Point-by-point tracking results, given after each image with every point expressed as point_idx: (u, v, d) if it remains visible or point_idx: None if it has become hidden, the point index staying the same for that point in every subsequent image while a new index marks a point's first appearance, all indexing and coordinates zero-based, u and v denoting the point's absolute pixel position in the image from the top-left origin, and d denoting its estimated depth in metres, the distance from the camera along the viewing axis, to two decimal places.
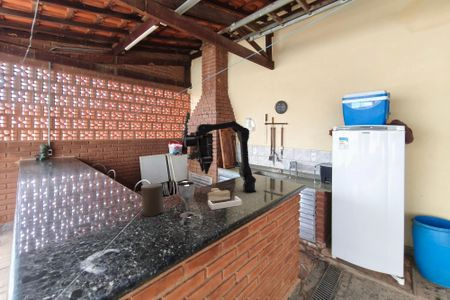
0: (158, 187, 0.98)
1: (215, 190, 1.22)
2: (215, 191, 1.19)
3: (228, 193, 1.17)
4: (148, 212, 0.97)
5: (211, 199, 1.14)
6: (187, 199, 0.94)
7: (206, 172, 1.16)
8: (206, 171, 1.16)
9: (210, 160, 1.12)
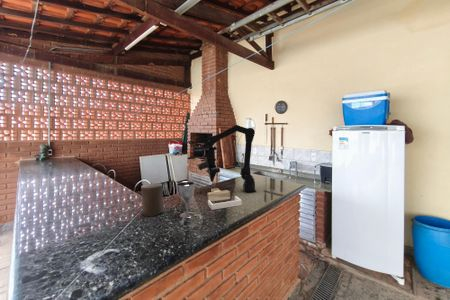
0: (158, 187, 0.98)
1: (215, 190, 1.22)
2: (215, 191, 1.19)
3: (228, 193, 1.17)
4: (148, 212, 0.97)
5: (211, 199, 1.14)
6: (187, 199, 0.94)
7: (212, 180, 1.31)
8: (211, 179, 1.30)
9: (217, 171, 1.22)
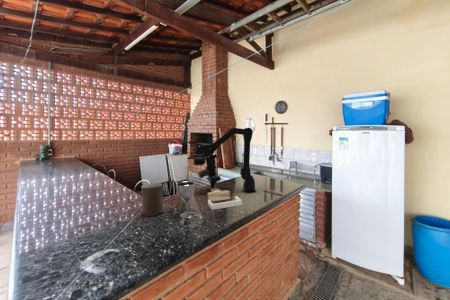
0: (158, 187, 0.98)
1: (215, 190, 1.22)
2: (215, 191, 1.19)
3: (228, 193, 1.17)
4: (148, 212, 0.97)
5: (211, 199, 1.14)
6: (187, 199, 0.94)
7: (212, 188, 1.30)
8: (212, 187, 1.30)
9: (218, 179, 1.22)
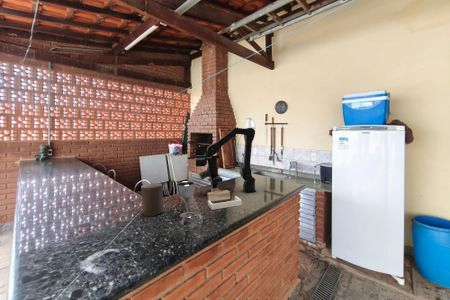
0: (158, 187, 0.98)
1: (215, 190, 1.22)
2: (215, 191, 1.19)
3: (228, 193, 1.17)
4: (148, 212, 0.97)
5: (211, 199, 1.14)
6: (187, 199, 0.94)
7: None
8: None
9: (220, 180, 1.18)
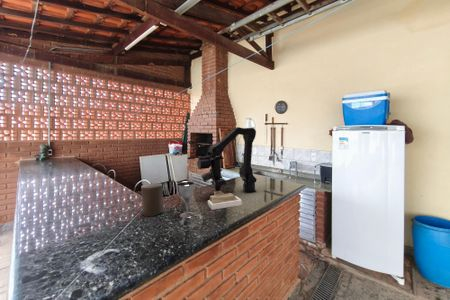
0: (158, 187, 0.98)
1: (219, 193, 1.16)
2: (218, 194, 1.13)
3: (232, 196, 1.11)
4: (148, 212, 0.97)
5: (214, 203, 1.08)
6: (187, 199, 0.94)
7: None
8: None
9: (223, 183, 1.12)
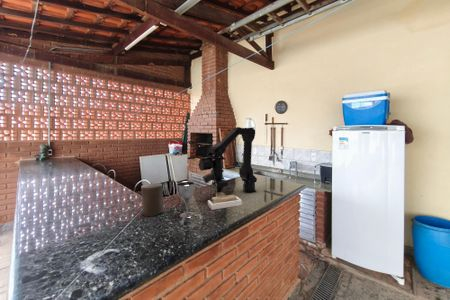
0: (158, 187, 0.98)
1: (220, 194, 1.13)
2: (220, 196, 1.10)
3: (234, 198, 1.08)
4: (148, 212, 0.97)
5: None
6: (187, 199, 0.94)
7: None
8: None
9: (225, 184, 1.09)
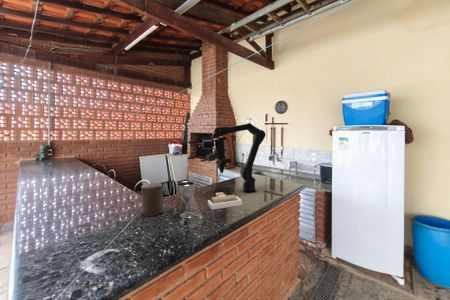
0: (158, 187, 0.98)
1: (220, 194, 1.13)
2: (220, 196, 1.10)
3: (234, 198, 1.08)
4: (148, 212, 0.97)
5: None
6: (187, 199, 0.94)
7: (221, 171, 1.26)
8: (221, 171, 1.26)
9: (228, 161, 1.18)
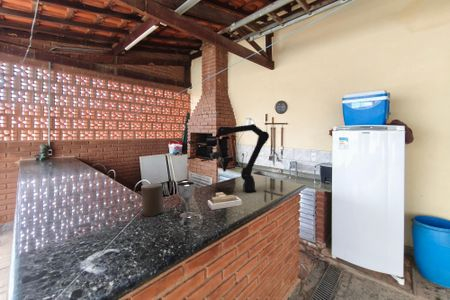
0: (158, 187, 0.98)
1: (220, 194, 1.13)
2: (220, 196, 1.10)
3: (234, 198, 1.08)
4: (148, 212, 0.97)
5: None
6: (187, 199, 0.94)
7: (224, 169, 1.30)
8: (224, 169, 1.30)
9: (231, 159, 1.22)
